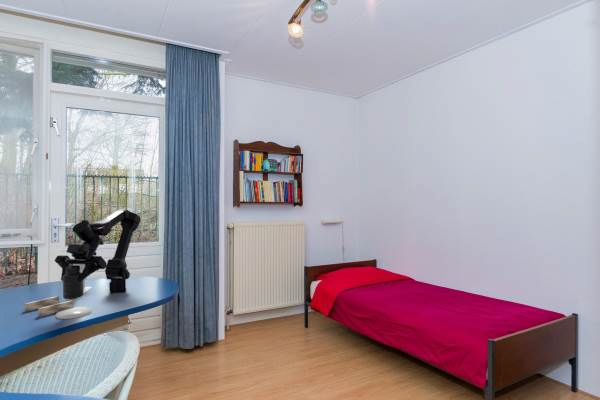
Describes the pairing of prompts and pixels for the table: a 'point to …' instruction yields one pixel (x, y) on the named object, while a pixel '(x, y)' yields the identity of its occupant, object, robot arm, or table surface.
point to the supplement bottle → (72, 283)
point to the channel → (48, 306)
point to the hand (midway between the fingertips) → (70, 280)
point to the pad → (74, 312)
